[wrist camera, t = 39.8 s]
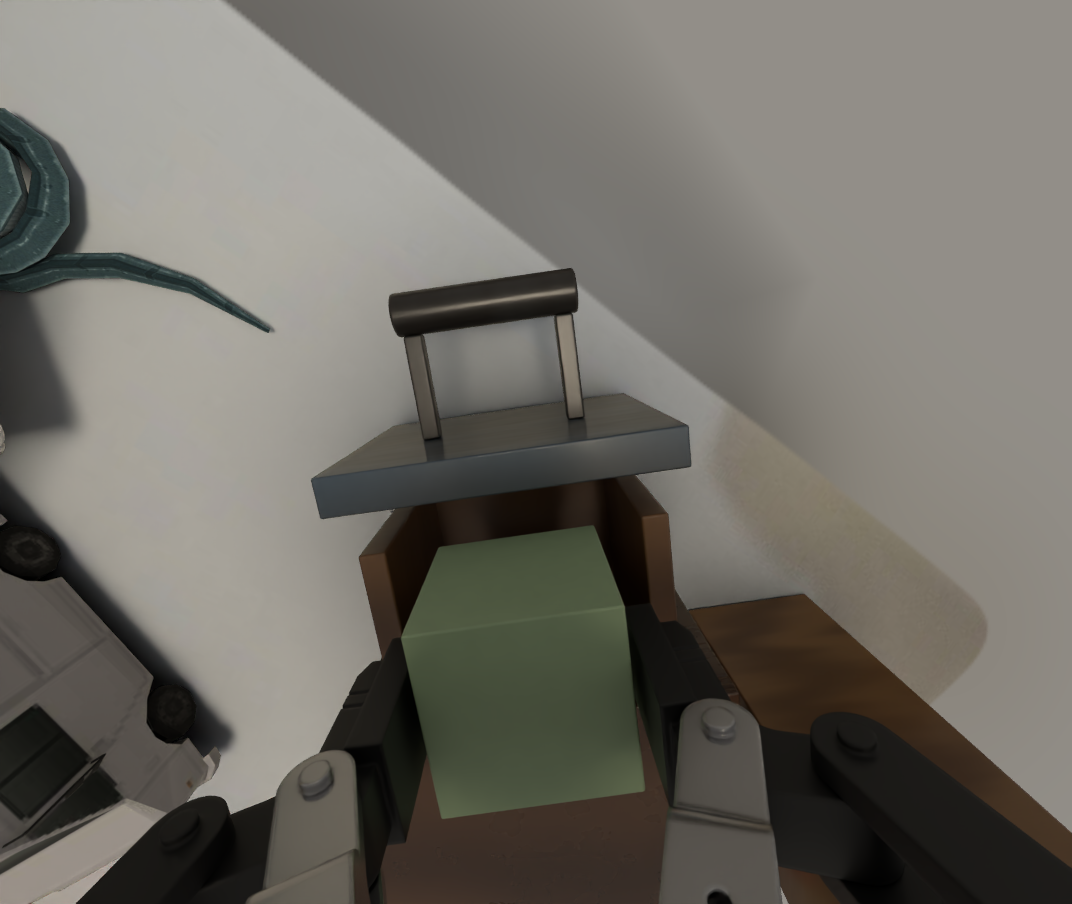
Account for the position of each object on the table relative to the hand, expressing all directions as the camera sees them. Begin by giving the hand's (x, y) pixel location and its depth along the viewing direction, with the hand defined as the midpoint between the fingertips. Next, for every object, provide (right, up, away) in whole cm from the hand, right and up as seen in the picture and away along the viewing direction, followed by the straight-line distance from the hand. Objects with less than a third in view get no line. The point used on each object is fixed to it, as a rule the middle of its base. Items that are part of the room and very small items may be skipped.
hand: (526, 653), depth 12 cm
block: (0, +1, +2) cm, 2 cm away
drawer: (-1, +5, +10) cm, 11 cm away
